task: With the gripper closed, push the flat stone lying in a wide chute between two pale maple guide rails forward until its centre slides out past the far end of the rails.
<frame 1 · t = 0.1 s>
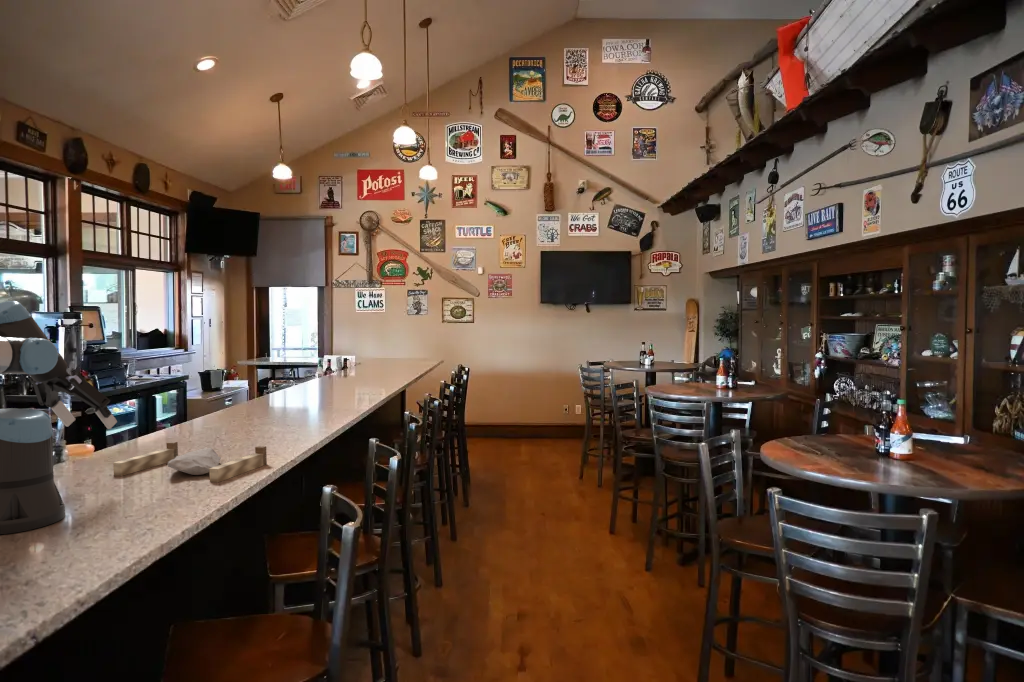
hand: (91, 424, 160), 15 cm above the countertop, tool tilted 35°, fingers open, 13 cm apart
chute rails: (192, 469, 173), on the countertop
stone: (198, 469, 175), on the countertop
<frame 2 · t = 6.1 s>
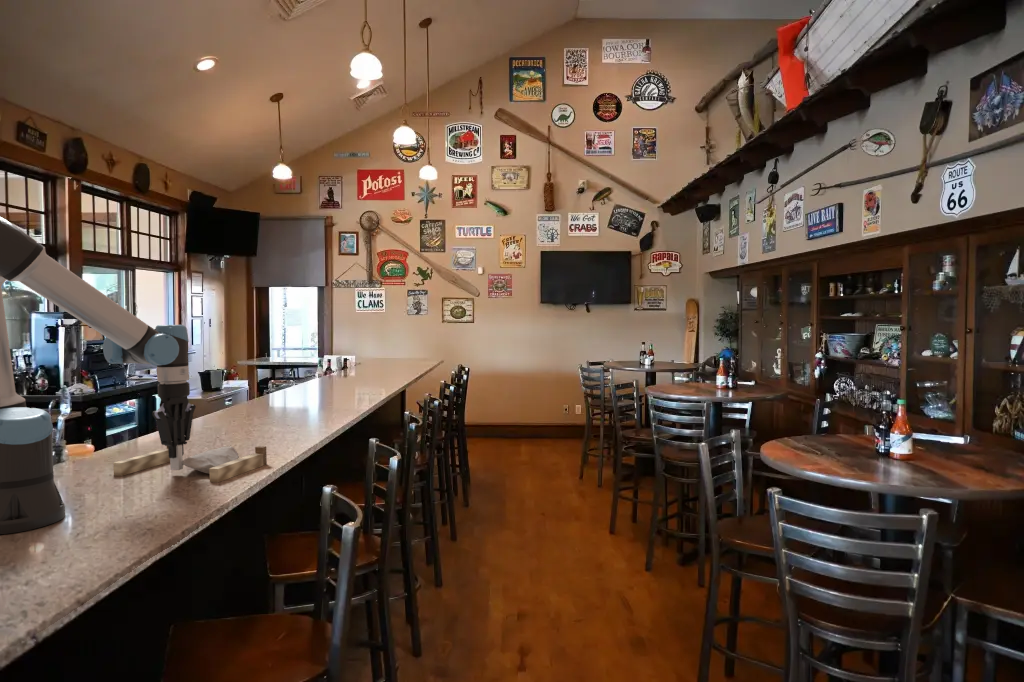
hand: (176, 469, 168), 2 cm above the countertop, tool pointing down, fingers closed
stone: (216, 467, 177), on the countertop, touching gripper
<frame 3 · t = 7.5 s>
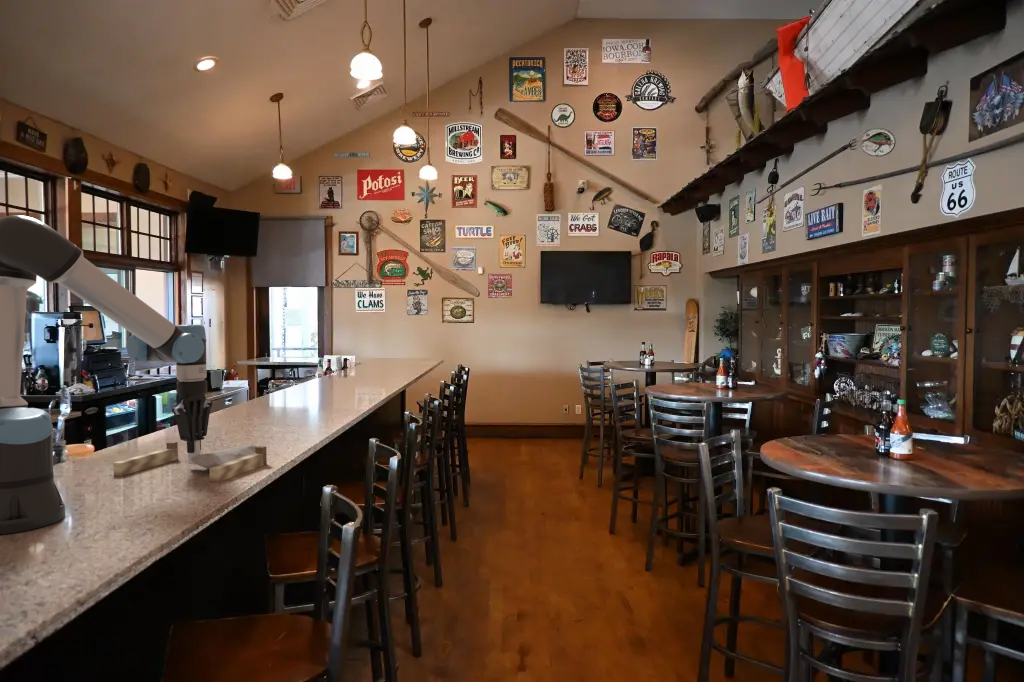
hand: (194, 463, 174), 2 cm above the countertop, tool pointing down, fingers closed
stone: (232, 465, 180), on the countertop, touching gripper
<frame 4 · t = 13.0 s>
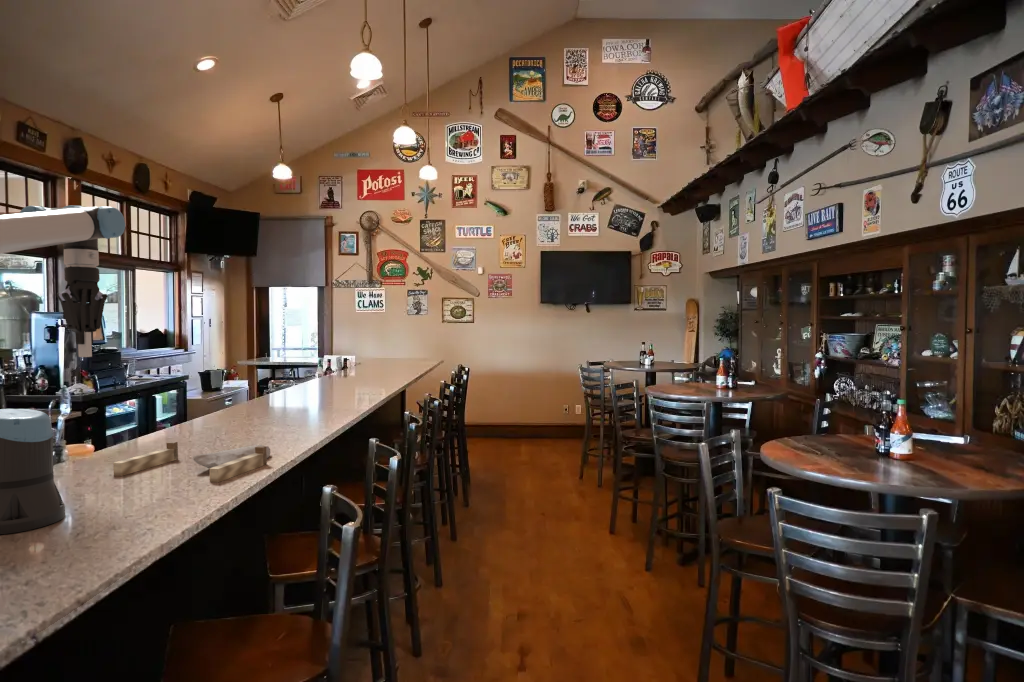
hand: (85, 356, 163), 32 cm above the countertop, tool pointing down, fingers closed
stone: (239, 465, 180), on the countertop
at the end: stone inside the target area (14.1 cm from its centre), on the countertop; stone moved 10.7 cm from its start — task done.
